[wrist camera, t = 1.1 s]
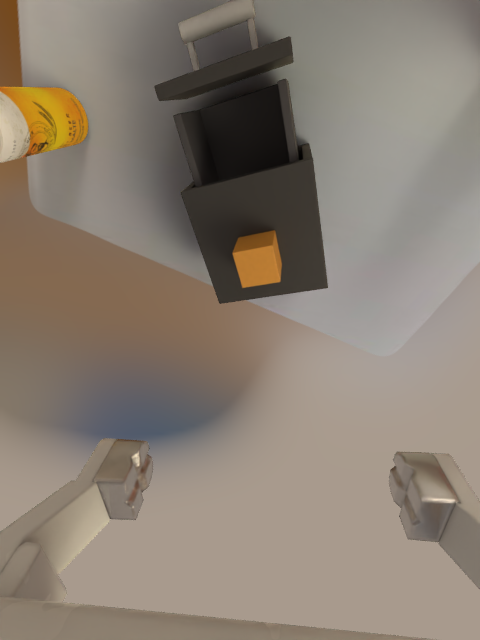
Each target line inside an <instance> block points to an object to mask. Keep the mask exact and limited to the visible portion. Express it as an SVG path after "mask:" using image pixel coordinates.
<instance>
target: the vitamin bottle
mask: <svg viewBox="0 0 480 640" xmlns="http://www.w3.org/2000/svg"><path fill="white" fill-rule="evenodd" d="M87 132H88V120H87V116H86V113H85V110H84V108H83V106H82V105H81V103H80V102H79V100H78V99H77V98H76V97H75V96H74V95H73V94H72V93H70V92H69V91H67V90H65V89H62V88H48V87H0V162H5V161H9V160H13V159H18V158H22V157H26V156H30V155H34V154H39V153H43V152H47V151H51V150H55V149H59V148H64V147H68V146H72V145H76V144H79V143H81V142H82V141H83V140H84V139H85V137H86V135H87Z"/></svg>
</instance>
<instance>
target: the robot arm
mask: <svg viewBox="0 0 480 640" xmlns="http://www.w3.org/2000/svg"><path fill="white" fill-rule="evenodd" d="M148 451H149V445H148V442H147V441H137V440H124V439H106V438H104V439H103V440H101V441H100V442H99V444H98V445H97V447H96V448H95V450H94V452H93V453H92V455H91V457H90V458H89V460H88V462H87V463H86V465H85V466H84V468H83V469H82V471H81V473H80V474H79V476H78V478H77V479H76V481H70V482H69V483H67V484H66V485H65V486H63V487H62V488H60V489H59V490H58V491H56V492H55V493H53V494H52V495H51V496H49V497H48V498H46V499H45V500H44V501H42V502H41V503H39V504H38V505H37V506H35V507H34V508H32V509H31V510H30V511H28V512H27V513H25V514H24V515H23V516H21V517H20V518H19V519H17V520H16V521H14V522H13V523H12V524H10V525H9V526H8V527H6V528H5V529H3V530H2V531H1V532H0V640H436V639H426V638H416V637H406V636H396V635H386V634H375V633H366V632H356V631H345V630H335V629H325V628H316V627H306V626H296V625H286V624H276V623H266V622H256V621H246V620H236V619H235V620H234V619H226V618H215V617H206V616H195V615H185V614H175V613H165V612H155V611H145V610H135V609H125V608H115V607H105V606H95V605H84V604H75V603H64V602H63V601H64V599H65V596H66V594H67V592H66V588H65V586H64V584H63V583H62V581H61V579H60V578H59V576H58V575H59V573H61V572H62V571H63V570H64V568H65V567H66V566H67V565H68V564H69V563H70V562H71V561H72V560H73V559H74V558H75V557H76V556H77V555H78V554H79V553H80V552H81V551H82V550H83V549H84V548H85V547H86V546H87V545H88V543H89V542H90V541H91V540H92V539H93V538H94V537H95V536H96V535H97V534H98V533H99V532H100V531H101V530H102V529H103V528H104V527H105V526H106V525H107V523H109V522H110V519H122V520H123V519H124V520H136V518H137V516H138V513H139V510H140V508H141V505H142V503H143V496H142V492H143V491H144V490H146V489H147V488H148V487H149V484H150V481H151V478H152V472H153V461H152V458H151V456H149V455H148V454H147V453H148ZM393 460H394V463H395V465H396V466H395V467H394V468H392V469H391V470H390V476H389V485H390V490H391V494H392V497H393V500H394V502H395V503H396V504H397V505H398V506H399V507H400V508H401V512H400V516H399V517H400V519H401V522H402V525H403V527H404V530H405V533H406V536H407V538H408V539H411V540H421V541H431V542H439V545H440V546H441V547H442V548H443V549H444V550H445V551H446V553H447V554H448V555H449V556H450V557H451V558H452V559H453V560H454V562H455V563H456V564H457V565H458V566H459V567H460V568H461V569H462V570H463V572H464V573H465V574H466V575H467V576H468V577H469V578H470V579H471V580H472V581H473V583H474V584H475V585H476V586H477V587H478V588H479V589H480V501H479V499H478V498H477V496H476V495H475V493H474V491H473V490H472V488H471V486H470V485H469V483H468V481H467V480H466V478H465V477H464V475H463V473H462V472H461V470H460V469H459V467H458V465H457V464H456V462H455V461H454V459H453V457H452V456H451V455H449V454H441V453H421V452H397V453H396V454H395V456H394V459H393Z"/></svg>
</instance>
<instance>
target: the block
mask: <svg viewBox="0 0 480 640" xmlns="http://www.w3.org/2000/svg"><path fill="white" fill-rule="evenodd" d="M232 254H233V257H234V260H235V264H236V267H237V271H238V274H239V278H240V281H241V284H242V288H245V287H251V286H258V285H264V284H270V283H277V282H280V280H281V269H282V262H281V257H280V253H279V248H278V243H277V238H276V233H275V230H273V231H268V232H263V233H259V234H254V235H249V236H244V237H239V238H238V240H237V242H236V245H235V248H234V250H233V253H232Z"/></svg>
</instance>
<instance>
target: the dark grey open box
mask: <svg viewBox="0 0 480 640" xmlns="http://www.w3.org/2000/svg"><path fill="white" fill-rule="evenodd" d="M297 147H298V154H299V160H298V161H295V162H291V163H287V164H283V165H279V166H275V167H271V168H267V169H264V170H260V171H256V172H252V173H248V174H244V175H240V176H236V177H233V178H229V179H225V180H221V181H217V182H213V183H209V184H206V185H202V186H198V187H196V186H195V183H194V181H193V182H192V183H191V184H190V185H189V186H188V187H186V188H185V189H184V190H183V191H182V192H181V195H182V198H183V200H184V203H185V206H186V209H187V212H188V215H189V218H190V221H191V223H192V226H193V229H194V232H195V235H196V238H197V241H198V243H199V246H200V249H201V252H202V255H203V258H204V261H205V263H206V266H207V269H208V272H209V275H210V278H211V281H212V283H213V286H214V289H215V292H216V295H217V298H218V301H219V303H220V304H221V303H228V302H235V301H241V300H249V299H255V298H262V297H269V296H276V295H283V294H290V293H296V292H303V291H310V290H317V289H324V288H328V284H327V275H326V267H325V258H324V250H323V241H322V233H321V224H320V216H319V207H318V199H317V190H316V182H315V173H314V165H313V158H312V154H311V149H310V145H309V144H305V145H301V146H297ZM273 230H275V233H276V238H277V243H278V248H279V253H280V257H281V262H282V269H281V280H280V282H277V283H270V284H264V285H258V286H251V287H245V288H242V284H241V281H240V278H239V274H238V271H237V267H236V264H235V260H234V257H233V254H232V253H233V250H234V248H235V245H236V242H237V240H238V238H239V237H244V236H249V235H254V234H259V233H263V232H268V231H273Z"/></svg>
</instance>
